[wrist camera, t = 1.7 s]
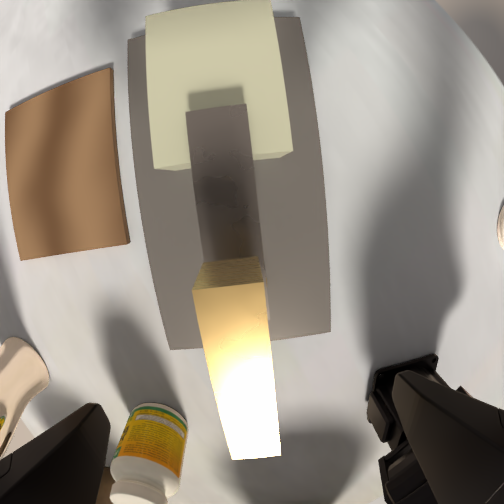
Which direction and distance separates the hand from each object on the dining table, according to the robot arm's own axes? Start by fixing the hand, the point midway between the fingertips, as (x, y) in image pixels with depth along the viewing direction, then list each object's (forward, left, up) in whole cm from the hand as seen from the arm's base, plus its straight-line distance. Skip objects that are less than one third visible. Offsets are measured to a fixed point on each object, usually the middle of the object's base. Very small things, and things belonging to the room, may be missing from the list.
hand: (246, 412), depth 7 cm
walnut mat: (+12, -9, -12) cm, 19 cm away
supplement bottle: (+9, +13, -12) cm, 20 cm away
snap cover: (0, -11, -11) cm, 16 cm away
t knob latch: (0, -3, -11) cm, 11 cm away
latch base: (0, -6, -12) cm, 14 cm away
